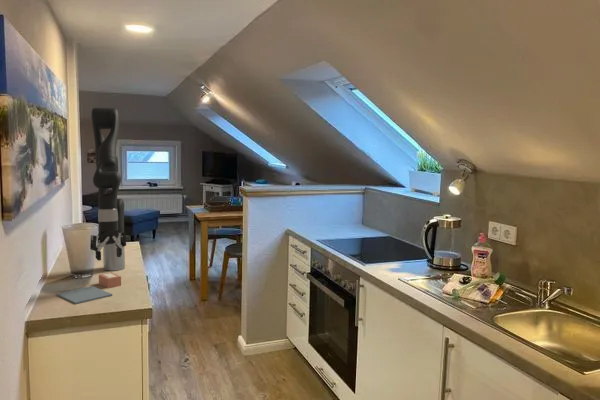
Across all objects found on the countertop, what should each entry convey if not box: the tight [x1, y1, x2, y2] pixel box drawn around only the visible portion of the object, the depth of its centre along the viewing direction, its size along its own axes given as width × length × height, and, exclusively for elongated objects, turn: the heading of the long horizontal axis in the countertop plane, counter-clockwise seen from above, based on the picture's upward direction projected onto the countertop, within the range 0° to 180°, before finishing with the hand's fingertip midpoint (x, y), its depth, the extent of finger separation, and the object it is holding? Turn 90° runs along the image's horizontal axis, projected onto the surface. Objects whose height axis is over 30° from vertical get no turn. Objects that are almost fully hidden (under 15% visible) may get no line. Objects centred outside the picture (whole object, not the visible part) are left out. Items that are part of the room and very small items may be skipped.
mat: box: [55, 285, 113, 305], centre depth 180 cm, size 16×14×1 cm
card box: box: [98, 272, 122, 289], centre depth 195 cm, size 9×6×4 cm, turn 45°
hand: (108, 258), depth 193 cm, fingers open, 8 cm apart
